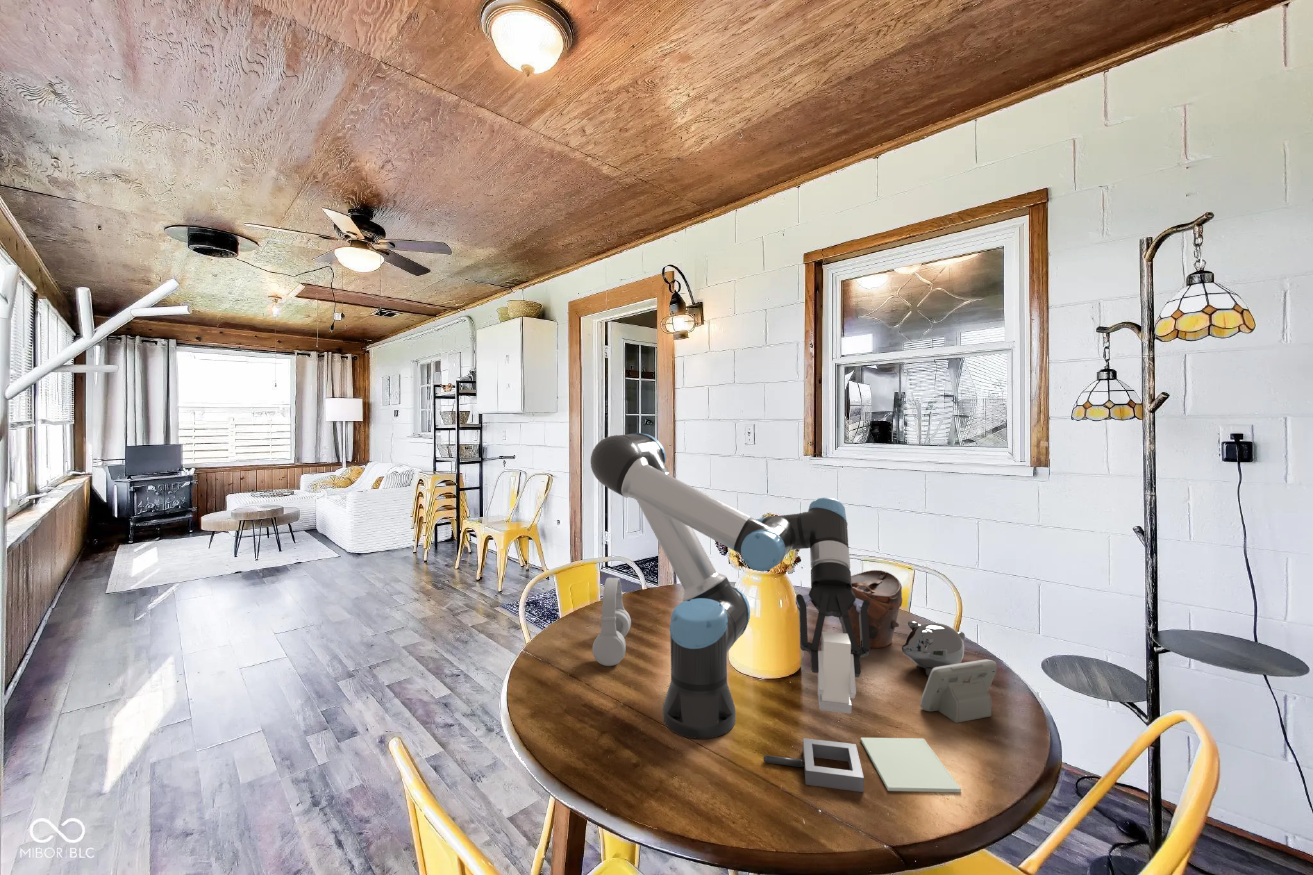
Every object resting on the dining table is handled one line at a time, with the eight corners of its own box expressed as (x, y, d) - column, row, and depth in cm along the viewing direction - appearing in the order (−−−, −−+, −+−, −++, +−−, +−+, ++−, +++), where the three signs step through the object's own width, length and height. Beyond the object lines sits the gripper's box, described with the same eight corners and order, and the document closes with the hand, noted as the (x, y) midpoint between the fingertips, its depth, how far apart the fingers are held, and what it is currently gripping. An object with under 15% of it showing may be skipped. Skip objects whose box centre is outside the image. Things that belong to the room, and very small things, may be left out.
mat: (888, 790, 92) (888, 787, 92) (860, 740, 106) (860, 737, 106) (960, 792, 91) (961, 788, 91) (923, 741, 105) (923, 738, 105)
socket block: (762, 778, 95) (762, 764, 95) (764, 746, 104) (764, 733, 104) (863, 792, 92) (863, 777, 92) (855, 757, 101) (855, 744, 101)
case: (832, 649, 145) (833, 583, 144) (832, 622, 164) (834, 563, 163) (905, 660, 140) (907, 591, 139) (897, 630, 159) (899, 569, 158)
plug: (819, 709, 95) (821, 642, 94) (817, 694, 100) (819, 629, 99) (851, 713, 93) (853, 645, 93) (847, 697, 99) (849, 632, 98)
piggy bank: (892, 660, 139) (893, 616, 139) (951, 660, 139) (952, 615, 139) (913, 682, 128) (914, 634, 128) (977, 681, 128) (978, 633, 127)
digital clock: (982, 698, 121) (983, 651, 121) (1010, 721, 112) (1011, 670, 112) (910, 701, 120) (911, 653, 120) (934, 724, 111) (935, 673, 111)
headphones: (625, 667, 137) (624, 591, 136) (591, 667, 137) (590, 591, 136) (631, 634, 157) (630, 568, 156) (602, 634, 157) (601, 568, 156)
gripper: (874, 582, 109) (888, 707, 93) (784, 575, 112) (783, 694, 97) (880, 563, 103) (895, 693, 88) (785, 557, 107) (784, 680, 92)
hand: (836, 693), depth 93 cm, fingers closed on plug, 4 cm apart
